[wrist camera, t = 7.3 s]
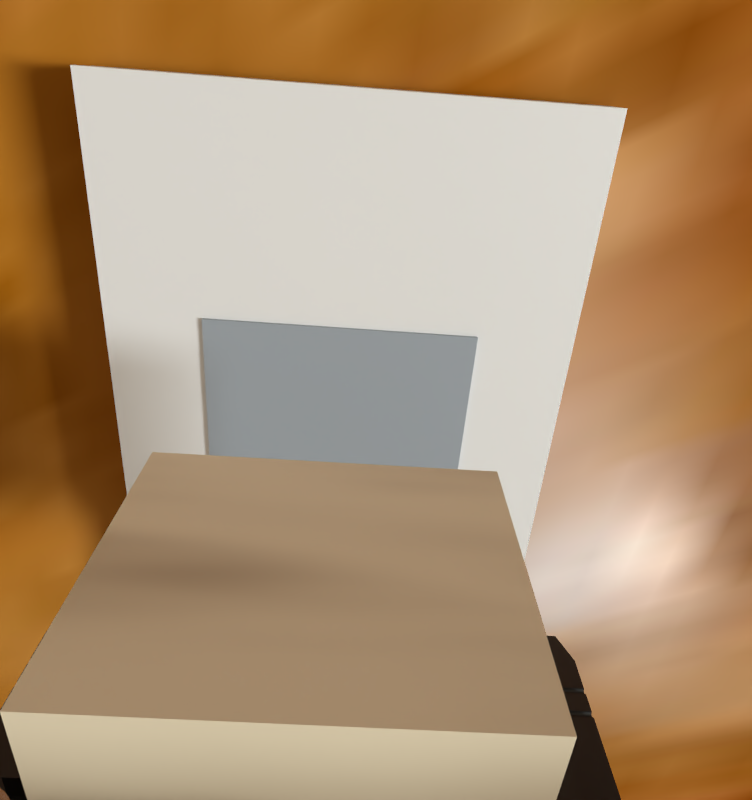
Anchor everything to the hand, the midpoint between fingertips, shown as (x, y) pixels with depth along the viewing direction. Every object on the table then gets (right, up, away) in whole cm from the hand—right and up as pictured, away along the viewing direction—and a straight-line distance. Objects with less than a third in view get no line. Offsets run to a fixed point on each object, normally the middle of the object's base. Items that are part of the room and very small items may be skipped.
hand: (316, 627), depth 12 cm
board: (0, +3, +7) cm, 8 cm away
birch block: (0, 0, +1) cm, 1 cm away
